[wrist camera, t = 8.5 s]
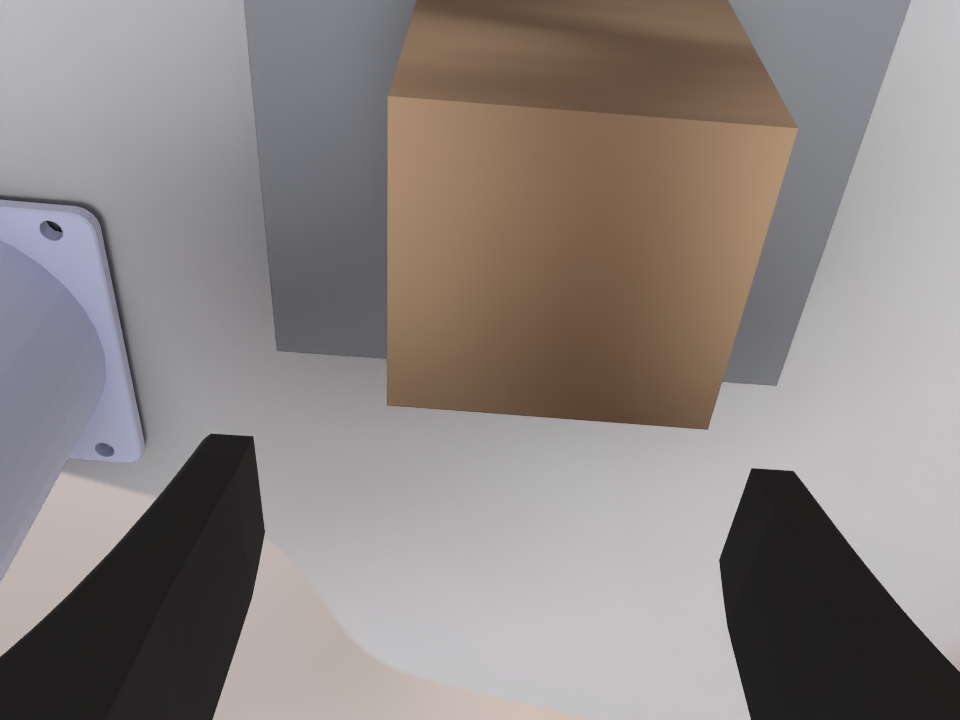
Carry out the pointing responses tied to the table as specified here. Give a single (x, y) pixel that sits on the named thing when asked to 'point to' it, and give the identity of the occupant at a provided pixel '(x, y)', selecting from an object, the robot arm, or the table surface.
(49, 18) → the table surface
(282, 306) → the gray block
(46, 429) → the robot arm
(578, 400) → the walnut cube
